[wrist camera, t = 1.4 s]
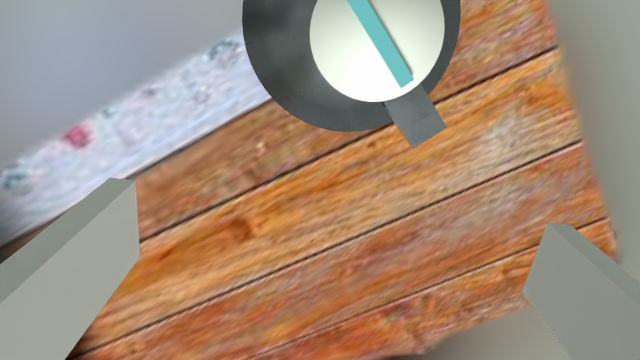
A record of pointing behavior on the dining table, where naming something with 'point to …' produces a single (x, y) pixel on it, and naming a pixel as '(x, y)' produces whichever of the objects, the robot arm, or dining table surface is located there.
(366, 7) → the white teal-striped cylinder
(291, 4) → the grey hook stand
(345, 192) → the dining table surface
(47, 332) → the robot arm
